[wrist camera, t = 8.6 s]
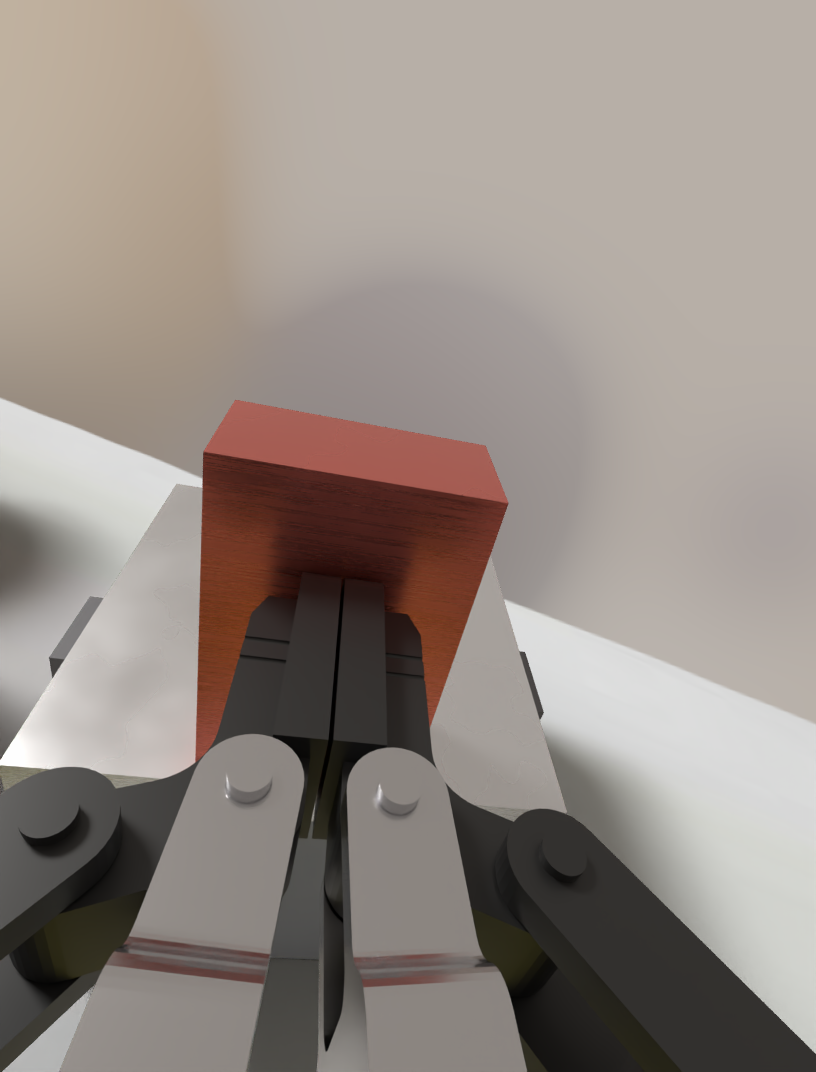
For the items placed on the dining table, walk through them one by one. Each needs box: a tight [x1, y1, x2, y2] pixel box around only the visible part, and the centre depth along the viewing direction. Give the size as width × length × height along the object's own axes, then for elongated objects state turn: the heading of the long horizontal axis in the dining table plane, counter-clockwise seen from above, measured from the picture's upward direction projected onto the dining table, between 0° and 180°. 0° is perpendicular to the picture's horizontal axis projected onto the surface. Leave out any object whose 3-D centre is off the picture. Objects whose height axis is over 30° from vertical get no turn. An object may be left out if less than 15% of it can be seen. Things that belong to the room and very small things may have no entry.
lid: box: [0, 400, 567, 822], centre depth 17 cm, size 13×13×9 cm
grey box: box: [49, 597, 544, 960], centre depth 22 cm, size 13×16×8 cm
